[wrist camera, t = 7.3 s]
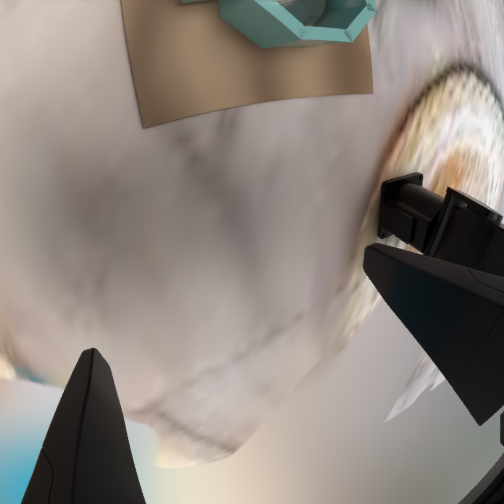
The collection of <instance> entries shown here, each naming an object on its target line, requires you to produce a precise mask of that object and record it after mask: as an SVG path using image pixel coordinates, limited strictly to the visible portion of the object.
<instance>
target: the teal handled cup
mask: <svg viewBox="0 0 504 504" xmlns="http://www.w3.org/2000/svg"><path fill="white" fill-rule="evenodd" d="M196 1H205V0H181V3H188V2H196ZM218 6H219V12H220V18H221V19H222V20H224V21H225V22H227V23H228V24H230V25H231V26H232V27H234V28H235V29H237V30H238V31H239V32H241V33H242V34H243V35H245V36H246V37H247V38H249V39H250V40H251V41H253V42H254V43H255V44H257V45H258V46H259V47H260V48H262V49H264V48H290V47H314V46H322V45H330V44H340V43H351V42H353V40H354V39H355V38H356V37H357V35H358V34H359V33H360V32H361V30H362V29H363V28H364V27H365V25H366V24H367V23H368V22H369V20H370V19H371V18H372V17H373V16H374V14H375V13H376V5H375V0H338V1H330V0H326V4H325V8H324V11H323V13H322V15H321V16H320V17H319V19H317V20H316V21H315V23H314V24H313V25H312V26H304V25H303V24H302V23H301V22H299V21H298V20H297V19H296V18H295V17H294V16H293V15H292V14H290V13H289V12H288V11H287V10H286V9H285V8H283V7H282V6H281V5H280V4H279V3H277V2H276V1H275V0H218Z"/></svg>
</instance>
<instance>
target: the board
mask: <svg viewBox="0 0 504 504" xmlns="http://www.w3.org/2000/svg"><path fill="white" fill-rule="evenodd" d="M121 3H122V11H123V18H124V26H125V32H126V39H127V45H128V51H129V57H130V63H131V68H132V74H133V79H134V84H135V89H136V94H137V99H138V104H139V108H140V113H141V117H142V122H143V126H144V128H148V127H151V126H154V125H158V124H162V123H165V122H169V121H173V120H177V119H180V118H184V117H189V116H193V115H197V114H201V113H206V112H211V111H215V110H220V109H225V108H231V107H236V106H242V105H248V104H254V103H260V102H267V101H274V100H282V99H291V98H300V97H311V96H324V95H340V94H373V80H372V65H371V54H370V44H369V35H368V27H367V24H366V25H365V27H364V28H363V29H362V30H361V32H360V33H359V34H358V35H357V37H356V38H355V39H354V40H353V42H351V43H340V44H330V45H322V46H314V47H290V48H264V49H262V48H260V47H259V46H258V45H257V44H255V43H254V42H253V41H251V40H250V39H249V38H247V37H246V36H245V35H243V34H242V33H241V32H239V31H238V30H237V29H235V28H234V27H232V26H231V25H230V24H228V23H227V22H225V21H224V20H222V19H221V18H220V12H219V6H218V0H205V1H196V2H188V3H181V0H121ZM314 23H315V22H314ZM314 23H312V24H310V25H307V26H312V25H313V24H314Z"/></svg>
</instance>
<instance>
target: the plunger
mask: <svg viewBox="0 0 504 504" xmlns="http://www.w3.org/2000/svg"><path fill="white" fill-rule="evenodd" d="M275 1H276V2H277V3H279V4H280V5H281V6H282V7H283V8H285V9H286V10H287V11H288V12H289V13H290V14H292V15H293V16H294V17H295V18H296V19H297V20H298V21H299V22H301V23H302V24H303V25H304V26H307V25H310V24H312V23H314V22H315V21H316V20H317V19H319V17H320V16H321V15H322V13H323V11H324V8H325V4H326V0H275ZM330 1H338V0H330Z"/></svg>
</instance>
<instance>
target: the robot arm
mask: <svg viewBox="0 0 504 504" xmlns="http://www.w3.org/2000/svg"><path fill="white" fill-rule="evenodd" d="M422 182H423V174H421V173H415V174H411V175H407V176H404V177H400V178H396V179H393V180H389V181H386V182H384V183H383V185H382V196H381V208H380V219H379V228H378V237H379V238H380V239H384V238H386V237H388V236H391V235H394V236H396V237H397V238H398V239H400V240H401V241H403V242H404V243H406V244H410V245H411V246H412V247H414V248H415V249H417V250H418V251H420V252H421V253H423V255H421V254H417V253H414V252H410V251H406V250H403V249H399V248H395V247H391V246H388V245H384V244H380V243H373V244H370V245H368V246H367V247H366V248H365V251H364V260H363V269H364V272H365V273H366V275H367V276H368V278H369V279H370V280H371V282H372V283H373V285H374V286H375V287H376V289H377V290H378V292H379V293H380V295H381V296H382V298H383V299H384V300H385V302H386V303H387V305H388V306H389V307H390V308H391V310H392V311H393V312H394V313H395V314H396V316H397V317H398V318H399V319H400V320H401V322H402V323H403V324H404V325H405V327H406V328H407V329H408V330H409V331H410V333H411V334H412V335H413V337H414V338H415V339H416V340H417V342H418V343H419V344H420V345H421V347H422V348H423V349H424V350H425V352H426V353H427V354H428V356H429V357H430V358H431V360H432V361H433V362H434V363H435V365H436V366H437V367H438V369H439V370H440V371H441V373H442V374H443V375H444V377H445V378H446V379H447V381H448V382H449V384H450V385H451V386H452V388H453V389H454V391H455V392H456V394H457V395H458V396H459V398H460V399H461V401H462V402H463V403H464V405H465V406H466V408H467V409H468V411H469V412H470V414H471V415H472V416H473V418H474V419H475V421H476V423H477V424H478V425H479V426H481V425H482V424H483V423H485V422H486V421H487V420H488V419H489V418H490V417H491V416H493V415H494V413H496V412H497V411H498V410H499V409H500V408H501V407H502V406H503V405H504V224H502V223H501V221H502V218H503V216H502V215H501V214H499V213H498V212H496V211H495V210H493V209H492V208H490V207H489V206H487V205H486V204H484V203H482V202H481V201H479V200H477V199H475V198H473V197H471V196H469V195H467V194H465V193H463V192H460V191H458V190H455V189H453V188H450V187H447V190H446V192H447V193H446V196H445V198H443V197H441V196H440V195H438V194H436V193H434V192H432V191H430V190H428V189H426V188H424V187H422ZM466 205H467V206H466ZM500 442H501V444H502V445H503V446H504V411H503V412H502V414H501V415H500ZM42 447H43V448H42V449H41V451H40V453H39V456H38V459H37V462H36V465H35V468H34V471H33V474H32V476H31V479H30V481H29V484H28V486H27V489H26V492H25V494H24V497H23V499H22V502H21V504H146V502H145V499H144V496H143V493H142V489H141V486H140V483H139V480H138V476H137V472H136V469H135V465H134V461H133V457H132V453H131V449H130V445H129V440H128V436H127V431H126V426H125V421H124V416H123V412H122V409H121V405H120V402H119V398H118V395H117V391H116V387H115V384H114V380H113V376H112V372H111V369H110V366H109V364H108V363H107V362H106V360H105V359H104V358H103V356H102V355H101V354H100V352H99V351H98V350H97V349H96V348H90V349H87V350H84V351H83V352H82V353H81V356H80V358H79V360H78V362H77V364H76V366H75V368H74V370H73V372H72V374H71V377H70V379H69V381H68V383H67V385H66V388H65V390H64V392H63V395H62V397H61V399H60V402H59V404H58V406H57V409H56V411H55V414H54V416H53V419H52V421H51V424H50V426H49V429H48V431H47V434H46V437H45V440H44V442H43V445H42ZM458 504H504V453H503V455H502V456H501V457H500V458H499V460H498V461H497V462H496V463H495V465H494V466H493V467H492V468H491V469H490V470H489V472H488V473H487V474H486V475H485V476H484V477H483V478H482V480H481V481H480V482H479V483H478V484H477V485H476V486H475V487H474V488H473V489H472V490H471V491H470V492H469V493H468V494H467V496H465V497H464V498H463V499H462V500H461V501H460V502H459V503H458Z"/></svg>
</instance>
